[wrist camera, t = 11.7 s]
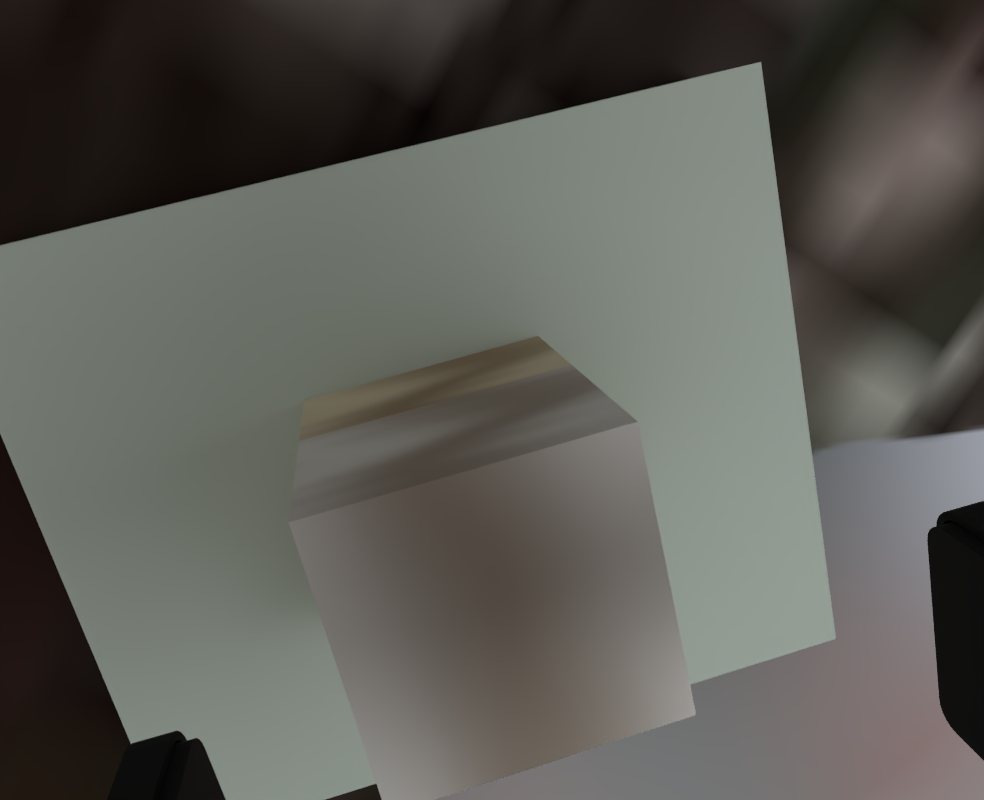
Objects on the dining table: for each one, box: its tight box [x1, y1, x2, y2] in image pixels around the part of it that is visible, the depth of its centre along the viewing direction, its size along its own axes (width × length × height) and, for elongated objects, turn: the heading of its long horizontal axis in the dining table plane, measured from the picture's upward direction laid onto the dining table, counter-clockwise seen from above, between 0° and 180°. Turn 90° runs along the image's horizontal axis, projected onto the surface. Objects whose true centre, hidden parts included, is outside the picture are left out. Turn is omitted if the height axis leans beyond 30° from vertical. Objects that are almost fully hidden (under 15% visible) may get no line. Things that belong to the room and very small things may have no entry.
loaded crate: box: [289, 336, 696, 800], centre depth 18 cm, size 6×6×7 cm
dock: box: [0, 62, 836, 800], centre depth 23 cm, size 18×15×4 cm
